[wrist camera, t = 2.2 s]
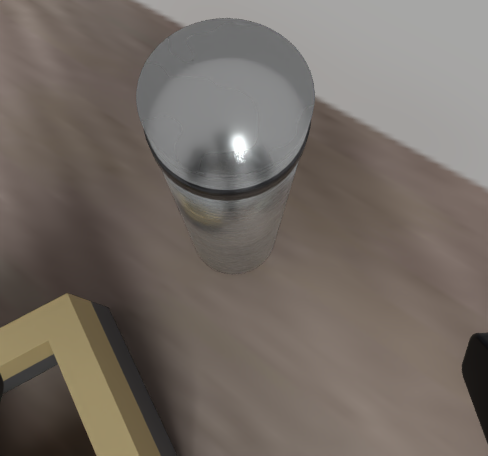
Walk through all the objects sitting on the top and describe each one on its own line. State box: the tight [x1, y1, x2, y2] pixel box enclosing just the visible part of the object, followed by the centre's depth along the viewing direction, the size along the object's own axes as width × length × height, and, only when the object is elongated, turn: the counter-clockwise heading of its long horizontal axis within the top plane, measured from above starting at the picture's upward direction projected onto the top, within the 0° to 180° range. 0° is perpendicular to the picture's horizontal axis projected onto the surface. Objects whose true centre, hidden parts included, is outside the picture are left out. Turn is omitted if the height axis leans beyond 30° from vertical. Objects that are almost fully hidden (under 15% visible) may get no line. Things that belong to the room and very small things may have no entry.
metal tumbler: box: [136, 18, 315, 274], centre depth 16 cm, size 4×4×12 cm
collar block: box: [0, 293, 177, 456], centre depth 16 cm, size 8×8×5 cm
